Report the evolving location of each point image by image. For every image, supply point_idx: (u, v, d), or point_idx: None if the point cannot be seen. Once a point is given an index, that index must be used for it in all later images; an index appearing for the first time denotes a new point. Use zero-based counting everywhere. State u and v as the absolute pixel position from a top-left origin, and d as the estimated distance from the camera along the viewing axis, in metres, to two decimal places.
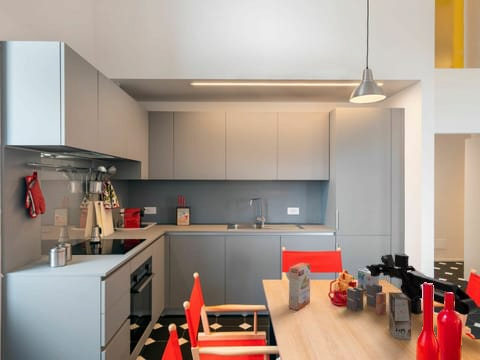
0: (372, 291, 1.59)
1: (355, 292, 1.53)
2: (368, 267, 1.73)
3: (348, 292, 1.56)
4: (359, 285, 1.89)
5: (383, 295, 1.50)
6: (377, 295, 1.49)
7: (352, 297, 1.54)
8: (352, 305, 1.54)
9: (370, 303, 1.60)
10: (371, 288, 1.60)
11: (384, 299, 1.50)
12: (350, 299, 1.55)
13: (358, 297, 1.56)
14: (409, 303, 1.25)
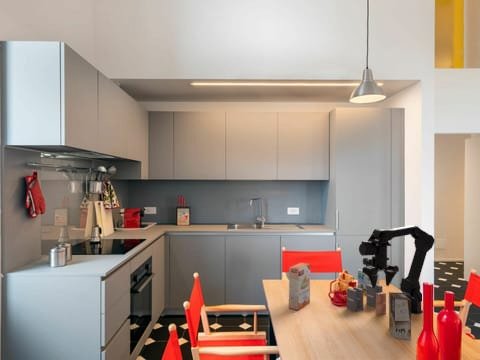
0: (372, 291, 1.59)
1: (355, 292, 1.53)
2: (372, 283, 1.48)
3: (348, 292, 1.56)
4: (359, 285, 1.89)
5: (383, 295, 1.50)
6: (377, 295, 1.49)
7: (352, 297, 1.54)
8: (352, 305, 1.54)
9: (370, 303, 1.60)
10: (371, 288, 1.60)
11: (384, 299, 1.50)
12: (350, 299, 1.55)
13: (358, 297, 1.56)
14: (409, 303, 1.25)
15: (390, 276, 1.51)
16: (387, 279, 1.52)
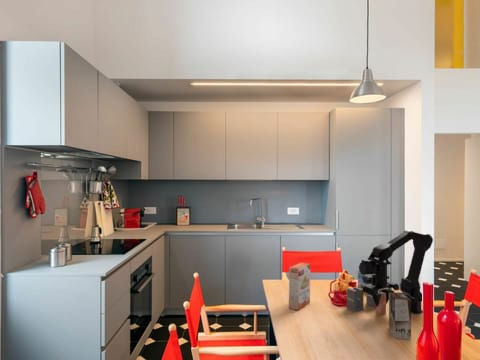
0: None
1: (355, 292, 1.53)
2: (375, 301, 1.48)
3: (348, 292, 1.56)
4: (359, 285, 1.89)
5: (383, 295, 1.50)
6: None
7: (352, 297, 1.54)
8: (352, 305, 1.54)
9: (370, 303, 1.60)
10: None
11: (384, 299, 1.50)
12: (350, 299, 1.55)
13: (358, 297, 1.56)
14: (409, 303, 1.25)
15: (387, 295, 1.50)
16: None
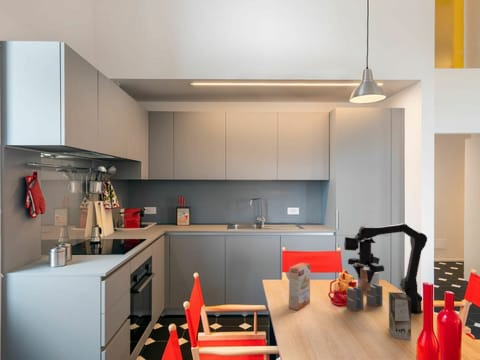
0: (372, 291, 1.59)
1: (355, 292, 1.53)
2: None
3: (348, 292, 1.56)
4: (359, 285, 1.89)
5: (365, 272, 1.58)
6: None
7: (352, 297, 1.54)
8: (352, 305, 1.54)
9: (370, 303, 1.60)
10: (371, 288, 1.60)
11: (366, 277, 1.57)
12: (350, 299, 1.55)
13: (358, 297, 1.56)
14: (409, 303, 1.25)
15: None
16: None
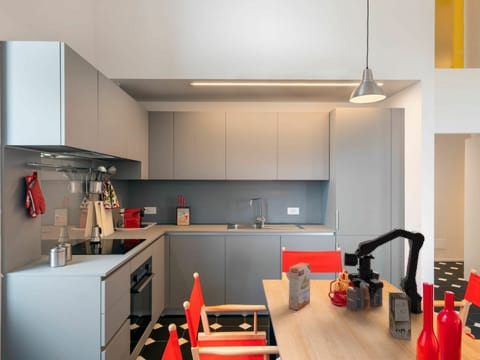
0: None
1: (355, 292, 1.53)
2: None
3: (348, 292, 1.56)
4: None
5: (365, 289, 1.58)
6: None
7: (352, 297, 1.54)
8: (352, 305, 1.54)
9: (370, 303, 1.60)
10: None
11: (366, 294, 1.57)
12: (350, 299, 1.55)
13: (358, 297, 1.56)
14: (409, 303, 1.25)
15: None
16: None
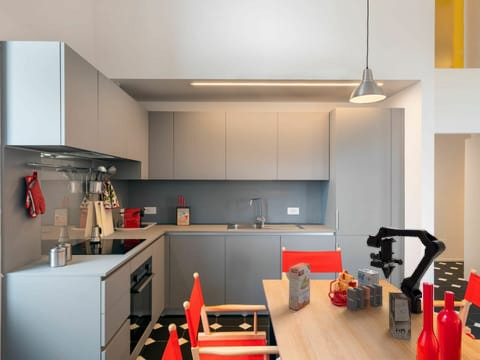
0: (372, 291, 1.59)
1: (355, 292, 1.53)
2: (385, 274, 1.65)
3: (348, 292, 1.56)
4: (359, 285, 1.89)
5: (365, 289, 1.58)
6: None
7: (352, 297, 1.54)
8: (352, 305, 1.54)
9: (370, 303, 1.60)
10: (371, 288, 1.60)
11: (366, 294, 1.57)
12: (350, 299, 1.55)
13: (358, 297, 1.56)
14: (409, 303, 1.25)
15: None
16: None
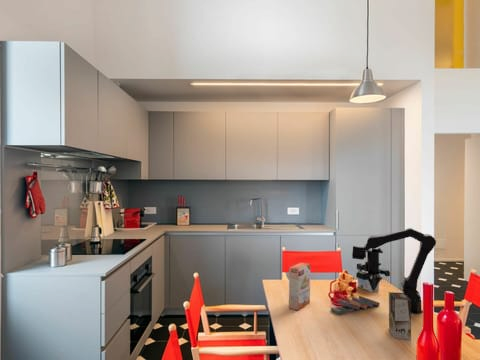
0: None
1: (339, 312, 1.49)
2: (371, 286, 1.61)
3: None
4: (359, 285, 1.89)
5: (351, 303, 1.54)
6: None
7: None
8: None
9: None
10: None
11: None
12: None
13: None
14: (409, 303, 1.25)
15: (376, 281, 1.60)
16: None
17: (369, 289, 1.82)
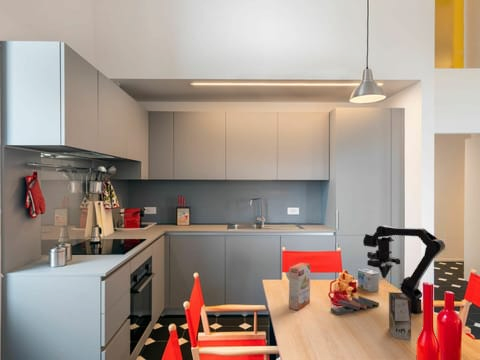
0: (360, 303, 1.55)
1: (339, 313, 1.48)
2: (382, 273, 1.65)
3: None
4: (359, 285, 1.89)
5: None
6: None
7: None
8: None
9: None
10: (357, 302, 1.55)
11: (355, 305, 1.53)
12: None
13: None
14: (409, 303, 1.25)
15: None
16: None
17: (369, 289, 1.82)
